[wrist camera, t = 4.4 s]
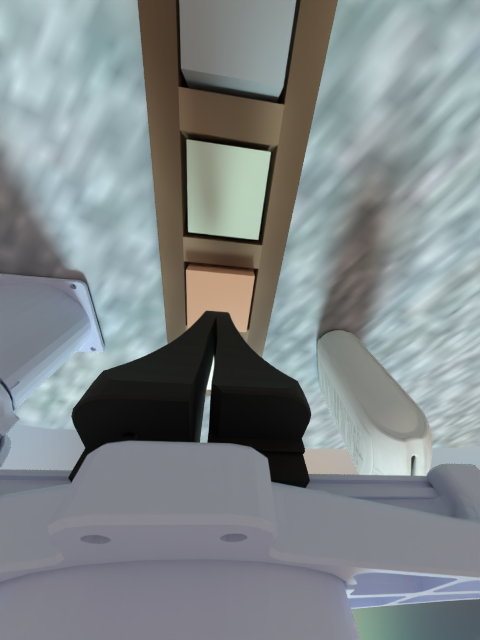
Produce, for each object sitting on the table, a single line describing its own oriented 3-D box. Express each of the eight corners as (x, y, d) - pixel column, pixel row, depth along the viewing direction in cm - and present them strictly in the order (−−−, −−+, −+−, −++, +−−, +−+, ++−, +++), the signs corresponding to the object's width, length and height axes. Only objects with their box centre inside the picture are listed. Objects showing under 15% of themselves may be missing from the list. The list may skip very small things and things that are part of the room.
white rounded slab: (350, 388, 27) (429, 512, 16) (317, 394, 27) (373, 519, 17) (353, 324, 22) (470, 443, 11) (312, 333, 22) (388, 456, 11)
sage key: (193, 228, 14) (188, 231, 13) (193, 148, 12) (186, 139, 10) (255, 235, 15) (258, 239, 13) (265, 158, 12) (270, 152, 11)
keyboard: (181, 362, 24) (172, 393, 20) (161, -69, 10) (116, -241, 6) (249, 366, 24) (253, 397, 20) (321, -32, 10) (372, -165, 7)
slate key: (189, 90, 10) (181, 68, 9) (188, -68, 8) (175, -141, 6) (274, 105, 11) (283, 86, 9) (295, -43, 8) (312, -106, 7)
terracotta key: (192, 315, 17) (187, 328, 15) (191, 261, 15) (186, 269, 13) (244, 319, 17) (246, 332, 15) (252, 267, 15) (254, 276, 13)
